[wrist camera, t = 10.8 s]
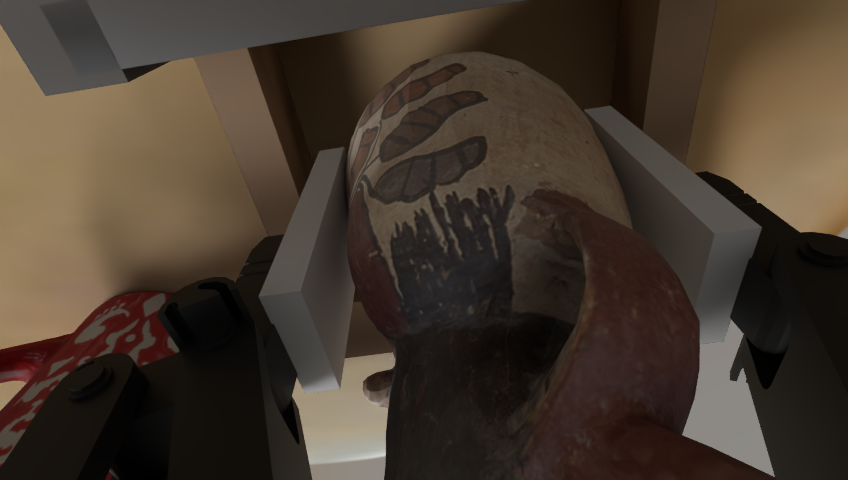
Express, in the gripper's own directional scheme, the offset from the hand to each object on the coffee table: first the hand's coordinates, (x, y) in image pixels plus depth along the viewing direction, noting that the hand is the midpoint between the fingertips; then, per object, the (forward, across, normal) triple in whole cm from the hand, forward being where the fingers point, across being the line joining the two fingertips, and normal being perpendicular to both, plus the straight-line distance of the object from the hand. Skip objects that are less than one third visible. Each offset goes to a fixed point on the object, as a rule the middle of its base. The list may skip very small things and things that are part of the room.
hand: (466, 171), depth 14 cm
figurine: (+1, 0, 0) cm, 1 cm away
